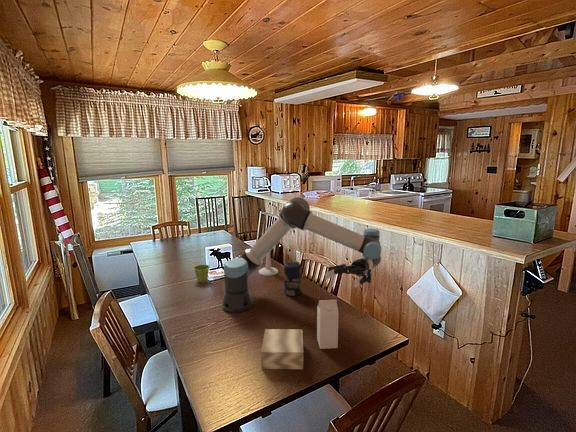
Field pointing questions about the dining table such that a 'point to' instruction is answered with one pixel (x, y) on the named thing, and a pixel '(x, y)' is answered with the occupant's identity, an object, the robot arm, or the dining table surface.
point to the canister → (292, 278)
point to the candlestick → (268, 266)
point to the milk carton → (327, 324)
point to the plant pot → (201, 272)
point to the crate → (282, 349)
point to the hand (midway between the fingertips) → (340, 280)
